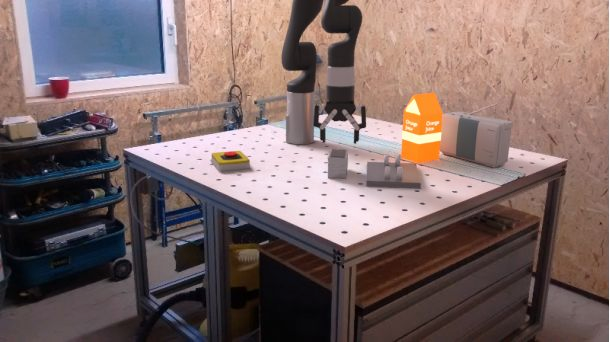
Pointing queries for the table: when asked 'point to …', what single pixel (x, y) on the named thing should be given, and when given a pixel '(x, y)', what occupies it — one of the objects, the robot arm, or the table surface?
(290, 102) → the robot arm
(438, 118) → the orange juice
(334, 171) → the grey boxy piece
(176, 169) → the table surface
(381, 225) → the table surface
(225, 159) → the emergency button
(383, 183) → the pin tray
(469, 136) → the stereo radio cassette player
